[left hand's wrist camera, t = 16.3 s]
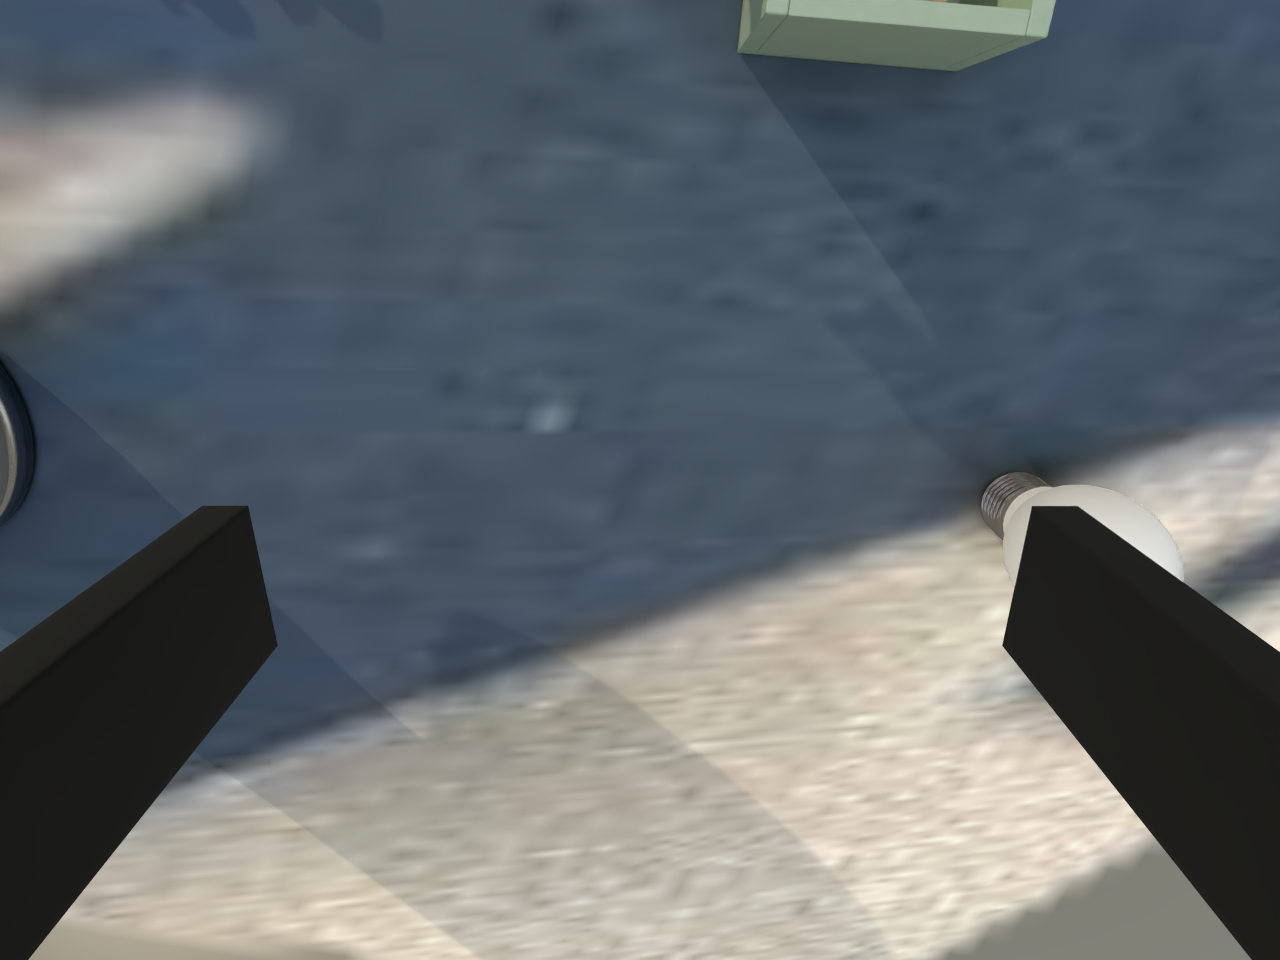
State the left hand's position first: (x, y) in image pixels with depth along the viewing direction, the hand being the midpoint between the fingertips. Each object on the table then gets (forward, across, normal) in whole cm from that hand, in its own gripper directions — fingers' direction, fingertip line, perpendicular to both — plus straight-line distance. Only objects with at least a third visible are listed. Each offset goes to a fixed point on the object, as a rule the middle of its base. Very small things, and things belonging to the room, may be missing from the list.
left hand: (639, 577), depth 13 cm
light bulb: (+27, +21, -10) cm, 35 cm away
